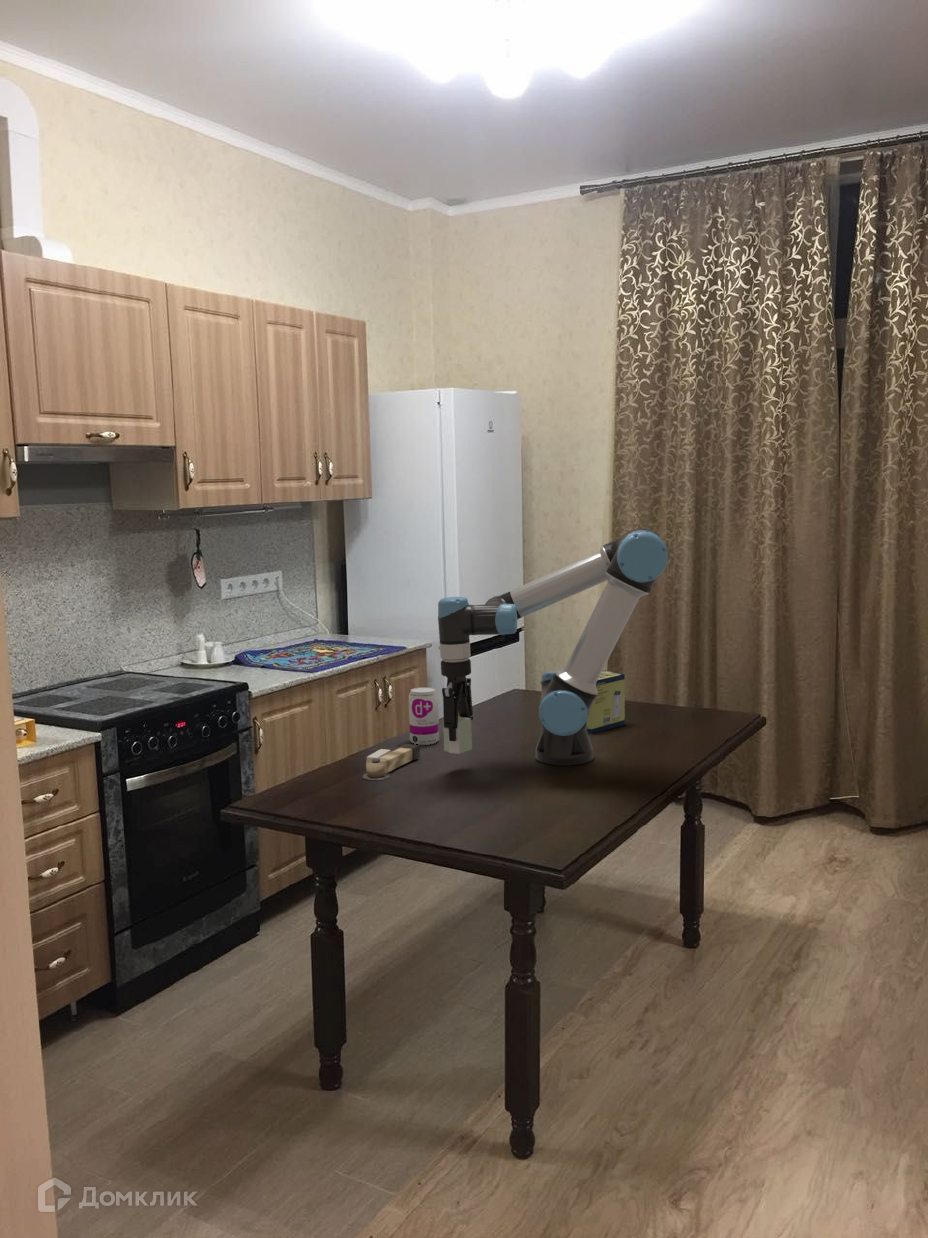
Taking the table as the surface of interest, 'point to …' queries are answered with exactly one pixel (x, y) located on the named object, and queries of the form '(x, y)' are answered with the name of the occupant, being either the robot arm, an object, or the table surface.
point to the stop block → (378, 754)
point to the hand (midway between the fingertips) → (460, 749)
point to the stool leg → (392, 760)
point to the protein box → (607, 703)
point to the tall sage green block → (465, 735)
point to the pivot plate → (376, 777)
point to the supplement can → (423, 716)
